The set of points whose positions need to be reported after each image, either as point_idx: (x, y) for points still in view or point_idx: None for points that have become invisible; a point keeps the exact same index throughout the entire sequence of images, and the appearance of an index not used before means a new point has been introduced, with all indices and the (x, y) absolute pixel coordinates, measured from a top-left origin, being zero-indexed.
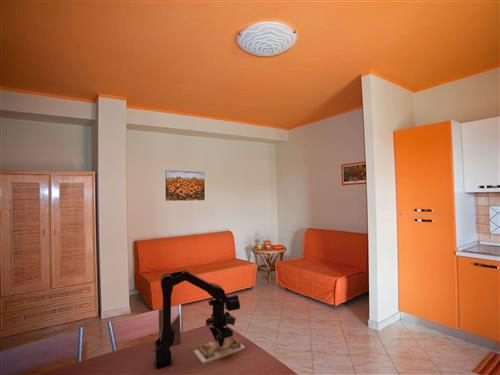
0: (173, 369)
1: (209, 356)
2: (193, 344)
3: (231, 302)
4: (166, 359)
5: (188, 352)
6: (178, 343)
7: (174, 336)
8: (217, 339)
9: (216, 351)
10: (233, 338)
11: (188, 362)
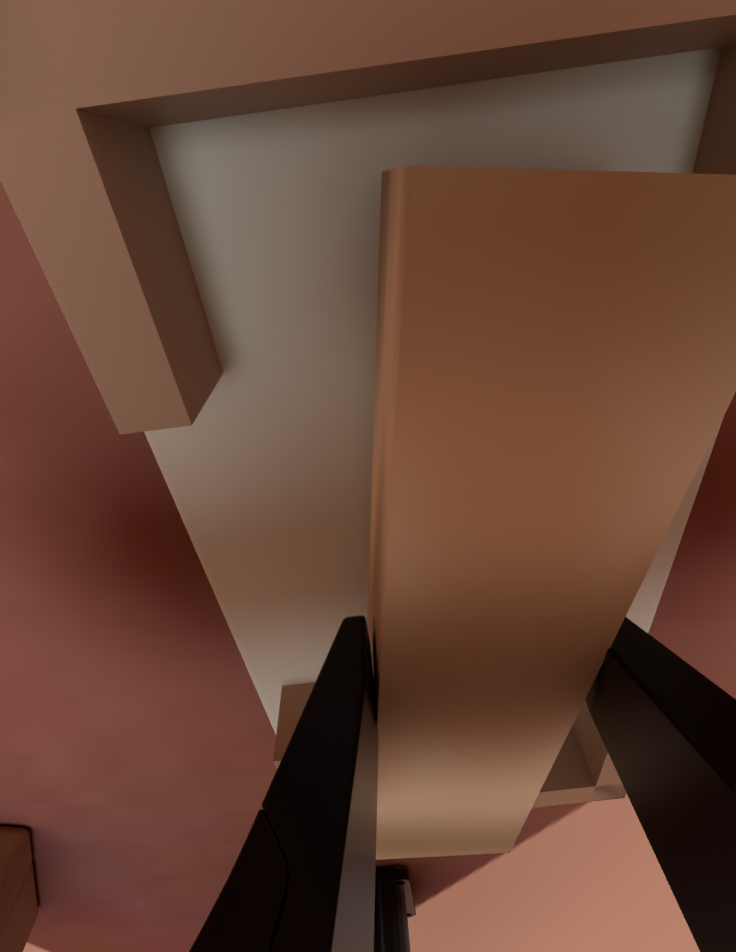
0: (484, 857)
1: None
2: (71, 746)
3: None
4: (404, 946)
5: (263, 788)
6: (28, 842)
7: None
8: (715, 940)
9: None
10: (310, 2)
11: None
